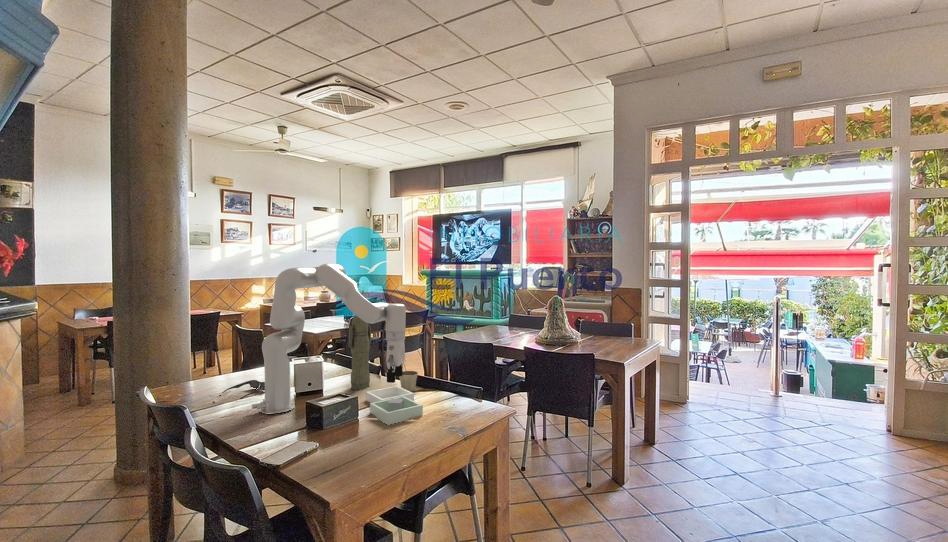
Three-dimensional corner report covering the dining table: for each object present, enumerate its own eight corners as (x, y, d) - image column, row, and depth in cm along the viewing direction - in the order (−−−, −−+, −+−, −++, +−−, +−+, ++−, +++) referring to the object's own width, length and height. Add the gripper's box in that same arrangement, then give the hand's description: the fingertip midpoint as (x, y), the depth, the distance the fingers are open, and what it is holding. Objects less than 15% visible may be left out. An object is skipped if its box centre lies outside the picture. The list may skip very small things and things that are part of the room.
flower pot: (420, 388, 208) (420, 370, 207) (415, 394, 198) (415, 375, 198) (401, 388, 208) (401, 370, 208) (395, 394, 199) (395, 375, 199)
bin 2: (387, 425, 159) (387, 413, 159) (370, 414, 171) (370, 403, 171) (422, 416, 169) (422, 405, 168) (403, 407, 180) (403, 396, 180)
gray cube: (400, 416, 167) (400, 403, 167) (387, 415, 168) (387, 402, 168) (404, 411, 172) (403, 399, 172) (391, 411, 173) (391, 398, 173)
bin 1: (381, 411, 175) (381, 400, 175) (366, 402, 187) (365, 391, 187) (414, 403, 184) (414, 393, 184) (397, 395, 196) (397, 385, 196)
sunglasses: (272, 393, 202) (270, 383, 201) (236, 407, 187) (235, 396, 187) (251, 388, 210) (250, 378, 210) (216, 401, 196) (214, 390, 196)
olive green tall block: (375, 386, 212) (375, 314, 212) (357, 392, 202) (357, 317, 202) (363, 383, 217) (362, 313, 217) (344, 389, 207) (344, 316, 207)
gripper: (398, 339, 161) (397, 385, 161) (410, 332, 178) (409, 374, 178) (378, 338, 161) (378, 384, 162) (392, 331, 179) (392, 373, 179)
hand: (394, 379), depth 170 cm, fingers open, 9 cm apart
